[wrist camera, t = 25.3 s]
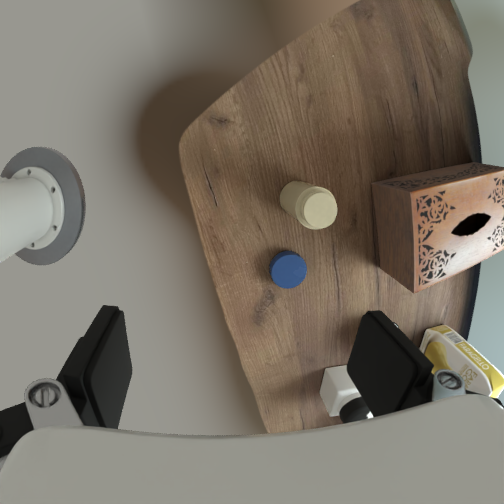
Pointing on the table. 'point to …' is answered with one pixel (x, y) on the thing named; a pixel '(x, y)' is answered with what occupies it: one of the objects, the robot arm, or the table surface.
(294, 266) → the jar lid
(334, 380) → the medicine bottle
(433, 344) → the juice carton
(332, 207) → the jar
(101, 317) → the robot arm
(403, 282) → the tissue box cover
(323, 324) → the table surface
